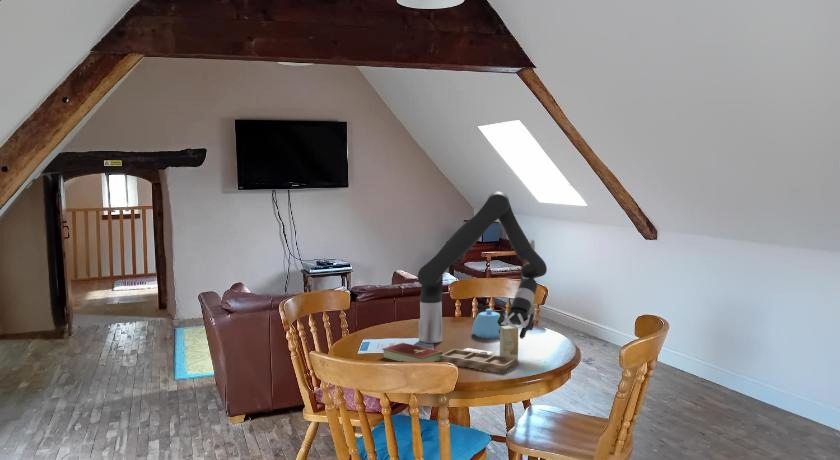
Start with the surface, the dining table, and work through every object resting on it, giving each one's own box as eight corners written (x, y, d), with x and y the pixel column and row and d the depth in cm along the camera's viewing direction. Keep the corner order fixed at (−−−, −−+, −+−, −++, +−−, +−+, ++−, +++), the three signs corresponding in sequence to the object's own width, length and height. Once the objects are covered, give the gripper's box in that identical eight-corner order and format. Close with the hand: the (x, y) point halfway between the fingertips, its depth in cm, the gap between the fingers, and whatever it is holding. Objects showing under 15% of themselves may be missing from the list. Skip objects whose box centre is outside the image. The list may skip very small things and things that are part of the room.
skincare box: (503, 360, 244) (503, 328, 243) (499, 357, 248) (498, 326, 247) (519, 358, 246) (518, 327, 244) (514, 355, 250) (514, 324, 249)
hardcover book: (403, 351, 260) (403, 341, 260) (442, 361, 246) (442, 350, 245) (382, 358, 251) (381, 347, 251) (421, 368, 237) (421, 357, 237)
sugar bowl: (508, 339, 275) (508, 312, 274) (473, 339, 275) (473, 313, 274) (504, 330, 290) (504, 305, 289) (471, 331, 290) (471, 306, 289)
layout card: (458, 353, 254) (458, 351, 254) (467, 349, 260) (467, 347, 260) (485, 357, 247) (485, 355, 247) (493, 353, 253) (493, 351, 253)
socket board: (438, 363, 242) (438, 356, 241) (455, 354, 252) (455, 348, 252) (503, 374, 227) (503, 366, 226) (518, 364, 238) (518, 357, 237)
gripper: (503, 295, 257) (491, 329, 249) (536, 298, 250) (525, 333, 241) (509, 305, 262) (497, 339, 254) (542, 309, 254) (530, 343, 246)
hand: (510, 336), depth 247 cm, fingers open, 8 cm apart
